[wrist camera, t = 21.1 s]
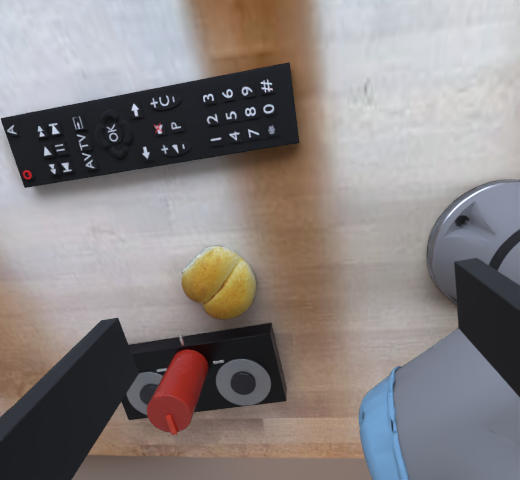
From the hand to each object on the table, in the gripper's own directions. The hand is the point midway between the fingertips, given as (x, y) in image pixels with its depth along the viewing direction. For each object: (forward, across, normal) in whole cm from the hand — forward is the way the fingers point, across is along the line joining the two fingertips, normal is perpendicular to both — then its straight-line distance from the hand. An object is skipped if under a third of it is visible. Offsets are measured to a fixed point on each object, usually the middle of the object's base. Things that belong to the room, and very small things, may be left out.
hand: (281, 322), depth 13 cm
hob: (+27, +16, +20) cm, 37 cm away
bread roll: (+27, +10, +8) cm, 30 cm away
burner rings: (+24, +16, +21) cm, 36 cm away
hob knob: (+24, +16, +18) cm, 34 cm away
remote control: (+27, +13, -11) cm, 32 cm away
